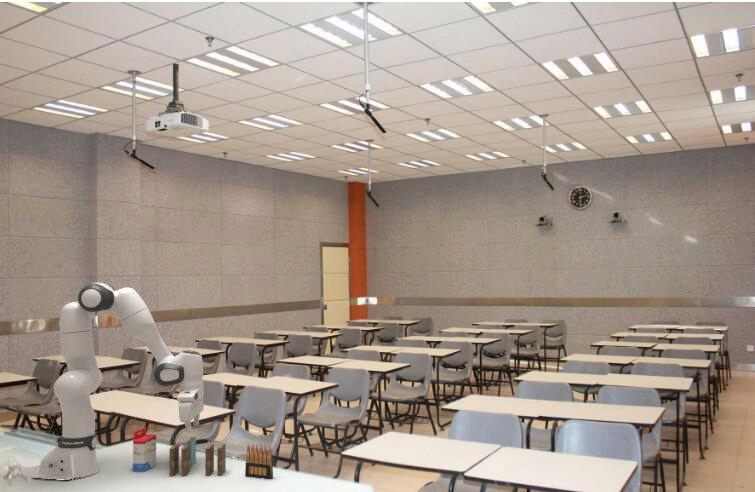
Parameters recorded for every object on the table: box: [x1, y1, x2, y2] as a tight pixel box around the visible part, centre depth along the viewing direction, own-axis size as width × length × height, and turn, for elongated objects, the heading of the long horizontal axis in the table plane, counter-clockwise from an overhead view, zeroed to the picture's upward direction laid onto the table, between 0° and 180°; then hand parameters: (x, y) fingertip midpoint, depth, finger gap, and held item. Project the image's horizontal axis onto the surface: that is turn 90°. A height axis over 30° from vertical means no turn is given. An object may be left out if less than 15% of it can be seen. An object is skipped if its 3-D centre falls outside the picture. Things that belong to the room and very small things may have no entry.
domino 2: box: [180, 443, 192, 477], centre depth 235 cm, size 2×6×10 cm, turn 0°
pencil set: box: [244, 442, 274, 480], centre depth 230 cm, size 11×2×12 cm, turn 70°
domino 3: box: [186, 436, 197, 468], centre depth 245 cm, size 2×6×10 cm, turn 0°
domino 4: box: [204, 443, 215, 477], centre depth 235 cm, size 2×6×10 cm, turn 0°
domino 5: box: [216, 443, 227, 477], centre depth 235 cm, size 2×6×10 cm, turn 0°
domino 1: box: [168, 443, 180, 477], centre depth 235 cm, size 2×6×10 cm, turn 0°
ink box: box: [132, 426, 157, 473], centre depth 242 cm, size 8×5×15 cm, turn 168°
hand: (192, 428), depth 245 cm, fingers open, 8 cm apart
